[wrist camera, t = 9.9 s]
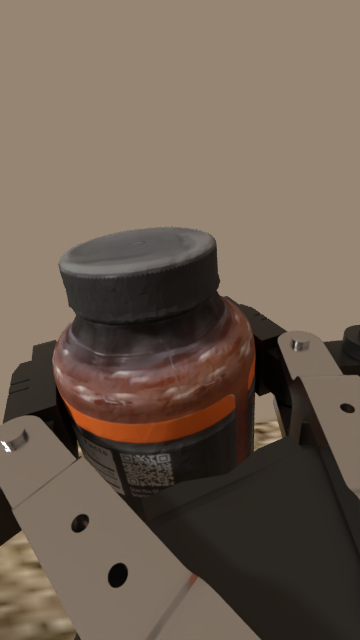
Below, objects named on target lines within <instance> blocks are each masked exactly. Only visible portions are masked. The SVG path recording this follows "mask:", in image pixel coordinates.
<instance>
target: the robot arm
mask: <svg viewBox="0 0 360 640" xmlns="http://www.w3.org/2000/svg"><path fill="white" fill-rule="evenodd" d="M225 298H226V299H228V300H229V301H231V302H232V303H234V304H236V305H237V306H238V307H239V309H240V310H241V311H242V312H243V313H244V315H245V316H246V318H247V320H248V321H249V323H250V326H251V329H252V332H253V336H254V343H255V354H256V357H255V375H256V381H255V392H256V393H257V394H258V395H259V396H262V395H264V394H267V393H269V392H271V393H272V394H273V395H274V398H273V405H274V409H275V412H276V416H277V420H278V423H279V427H280V431H281V434H282V439H280V440H278V441H275V442H273V443H271V444H268V445H266V446H264V447H261V448H259V449H257V450H256V451H255V452H254V453H252V454H251V455H250V456H249V457H248V458H246V459H245V460H244V461H243V462H242V463H240V464H239V465H238V466H237V467H235V468H234V469H233V470H232V471H231V472H229V473H227V474H225V475H220V476H214V477H208V478H202V479H196V480H190V481H183V482H180V483H178V484H176V485H173V486H171V487H169V488H167V489H164V490H162V491H160V492H157V493H155V494H153V495H150V496H148V497H146V498H143V499H141V500H142V504H143V508H144V511H145V514H144V515H142V516H141V517H140V518H139V517H138V516H137V514H136V513H135V512H134V511H133V510H132V509H131V508H130V507H129V506H128V505H127V504H126V502H125V501H124V500H123V499H122V498H121V497H120V496H119V495H118V494H117V493H116V492H115V491H114V489H113V488H112V487H111V486H110V485H109V484H108V483H107V482H106V481H105V480H104V479H103V478H102V476H101V475H100V474H99V473H98V472H97V471H96V470H95V469H94V468H93V467H92V466H91V464H90V463H89V462H88V461H87V460H86V459H85V458H83V457H81V456H80V457H79V454H78V444H77V437H76V435H75V432H74V430H73V427H72V425H71V422H70V419H69V417H68V414H67V411H66V408H65V405H64V403H63V401H62V398H61V396H60V393H59V391H58V388H57V385H56V382H55V377H54V373H53V355H54V350H55V347H56V344H57V341H56V340H54V341H50V342H46V343H42V344H38V345H34V346H33V354H32V361H28V362H25V363H21V364H20V365H19V366H18V368H17V369H16V370H15V372H14V373H13V374H12V379H11V384H10V385H11V386H10V389H9V395H8V399H7V404H6V410H5V415H4V420H3V424H2V425H1V426H0V546H1V545H2V544H4V543H5V542H6V541H8V540H9V539H10V538H12V537H13V536H15V535H16V534H17V533H19V532H20V531H21V530H22V531H23V533H24V534H25V536H26V538H27V540H28V542H29V544H30V546H31V547H32V549H33V551H34V553H35V555H36V557H37V559H38V560H39V562H40V564H41V566H42V568H43V570H44V572H45V573H46V575H47V577H48V579H49V581H50V583H51V585H52V586H53V588H54V590H55V592H56V594H57V596H58V598H59V599H60V601H61V603H62V605H63V607H64V609H65V611H66V612H67V614H68V616H69V618H70V620H71V622H72V624H73V625H74V627H75V629H76V631H77V634H76V636H75V639H74V640H360V325H355V326H351V327H348V328H347V329H346V330H345V332H344V337H343V340H341V341H330V342H323V341H322V340H321V339H320V338H319V337H317V336H316V335H314V334H311V333H308V332H303V331H290V332H287V331H286V330H284V329H283V328H281V327H280V326H278V325H277V324H275V323H274V322H272V321H271V320H269V319H267V317H265V316H264V315H262V314H260V313H259V312H258V311H256V310H255V309H253V308H252V307H248V306H245V305H242V304H240V305H239V304H237V303H236V302H235V301H233V300H232V299H231V298H229V297H228V296H225Z"/></svg>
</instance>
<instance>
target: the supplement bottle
mask: <svg viewBox="0 0 360 640" xmlns="http://www.w3.org/2000/svg"><path fill="white" fill-rule="evenodd" d="M58 265H59V269H60V273H61V276H62V279H63V283H64V286H65V288H66V292H67V296H68V303H69V307H71V308H72V309H73V311H74V312H75V314H76V317H75V319H74V320H73V321H72V322H71V323H69V325H68V326H67V327H66V328H65V330H64V331H63V332H62V334H61V336H60V338H59V340H58V342H57V344H56V347H55V350H54V355H53V373H54V377H55V382H56V385H57V388H58V391H59V393H60V396H61V398H62V401H63V403H64V405H65V408H66V411H67V414H68V417H69V419H70V422H71V425H72V427H73V430H74V432H75V435H76V437H77V440H78V442H79V445H80V447H81V450H82V452H83V455H84V458H85V459H86V460H87V461H88V462H89V463H90V464H91V466H92V467H93V468H94V469H95V470H96V471H97V472H98V473H99V474H100V475H101V476H102V478H103V479H104V480H105V481H106V482H107V483H108V484H109V485H110V486H111V487H112V488H113V489H114V491H115V492H116V493H117V494H118V495H119V496H120V497H121V498H122V499H123V500H124V501H125V502H126V504H127V505H128V506H129V507H130V508H131V509H132V510H133V511H134V512H135V513H136V514H137V516H138V517H139V518H140V517H141V516H142V515H144V514H145V511H144V508H143V504H142V500H141V499H143V498H146V497H148V496H150V495H153V494H155V493H157V492H160V491H162V490H164V489H167V488H169V487H171V486H173V485H176V484H178V483H180V482H183V481H190V480H196V479H202V478H208V477H214V476H220V475H225V474H227V473H229V472H231V471H232V470H233V469H234V468H235V467H237V466H238V465H239V464H240V463H242V462H243V461H244V460H245V459H246V458H248V457H249V456H250V455H251V454H252V453H254V410H255V409H254V408H255V407H254V406H255V381H256V375H255V357H256V354H255V343H254V336H253V332H252V329H251V326H250V323H249V321H248V320H247V318H246V316H245V315H244V313H243V312H242V311H241V310H240V309H239V307H238V306H237V305H236V304H234V303H232V302H231V301H229V300H228V299H226V298H225V297H222V296H220V295H219V294H218V292H217V291H216V290H217V289H218V287H219V283H220V279H219V275H218V268H217V267H218V266H217V247H216V240H215V239H214V238H213V236H212V235H211V234H209V233H207V232H203V231H201V230H197V229H189V228H181V227H156V228H147V229H137V230H129V231H123V232H119V233H114V234H110V235H106V236H102V237H99V238H95V239H92V240H90V241H87V242H84V243H81V244H78V245H76V246H75V247H73V248H71V249H69V250H68V251H66V252H65V253H64V254H63V255H62V256H61V258H60V260H59V264H58Z"/></svg>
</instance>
